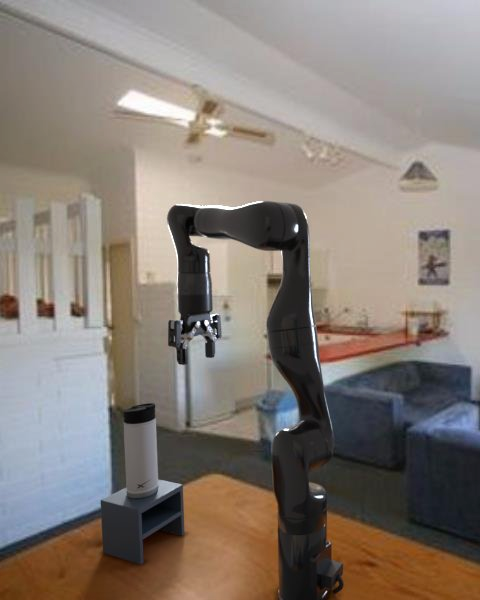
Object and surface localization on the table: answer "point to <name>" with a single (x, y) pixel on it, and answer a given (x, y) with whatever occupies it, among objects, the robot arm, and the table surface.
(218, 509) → the table surface
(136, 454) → the travel mug
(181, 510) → the shelf
